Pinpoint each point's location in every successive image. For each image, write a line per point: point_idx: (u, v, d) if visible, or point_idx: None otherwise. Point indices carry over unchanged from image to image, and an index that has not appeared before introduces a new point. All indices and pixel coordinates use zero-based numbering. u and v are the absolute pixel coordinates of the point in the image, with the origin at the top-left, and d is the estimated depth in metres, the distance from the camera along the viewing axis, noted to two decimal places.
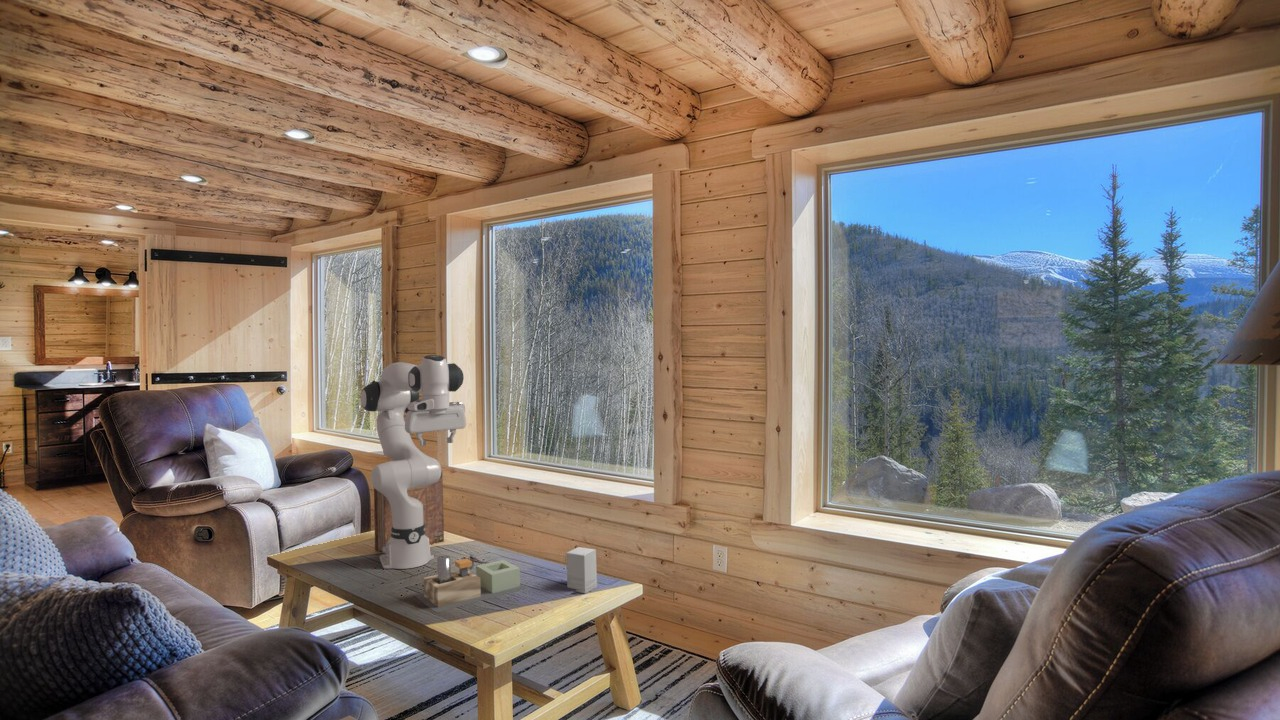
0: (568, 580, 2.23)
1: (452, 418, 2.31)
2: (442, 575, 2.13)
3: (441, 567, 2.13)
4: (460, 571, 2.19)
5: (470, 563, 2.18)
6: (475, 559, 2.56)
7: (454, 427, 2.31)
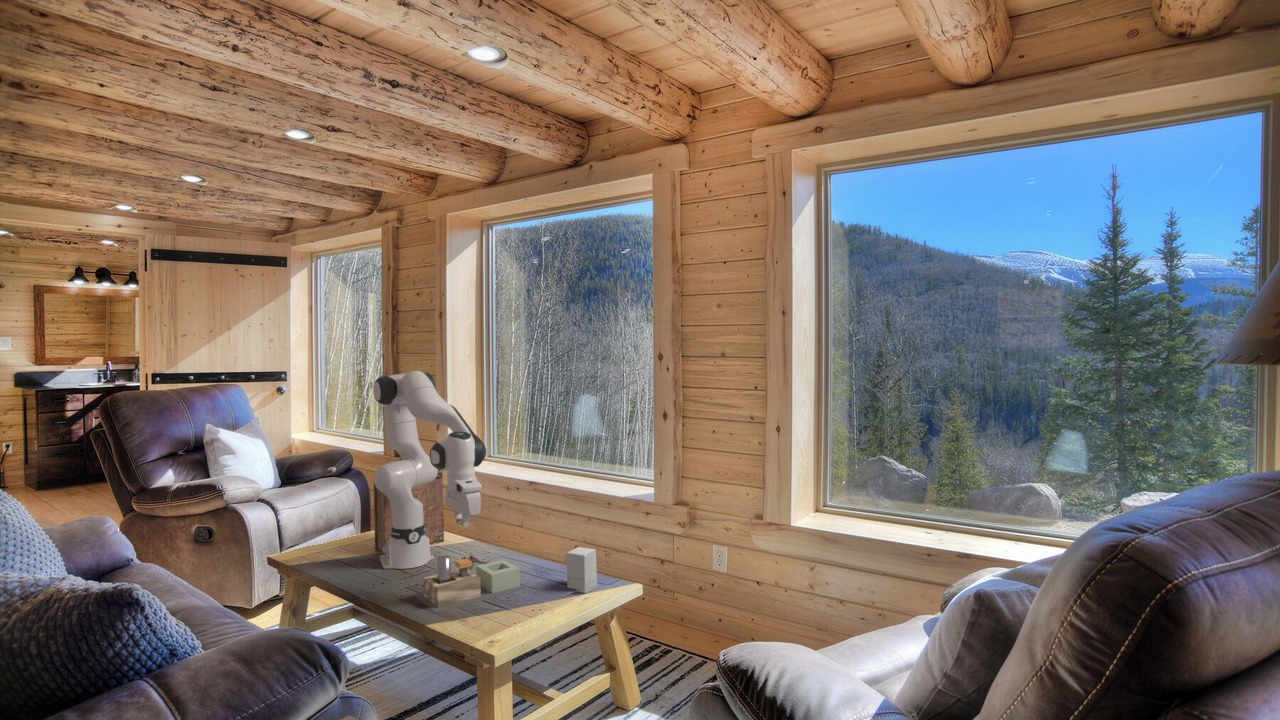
0: (568, 580, 2.23)
1: None
2: (442, 575, 2.13)
3: (441, 567, 2.13)
4: (460, 571, 2.19)
5: (470, 563, 2.18)
6: (475, 559, 2.56)
7: None
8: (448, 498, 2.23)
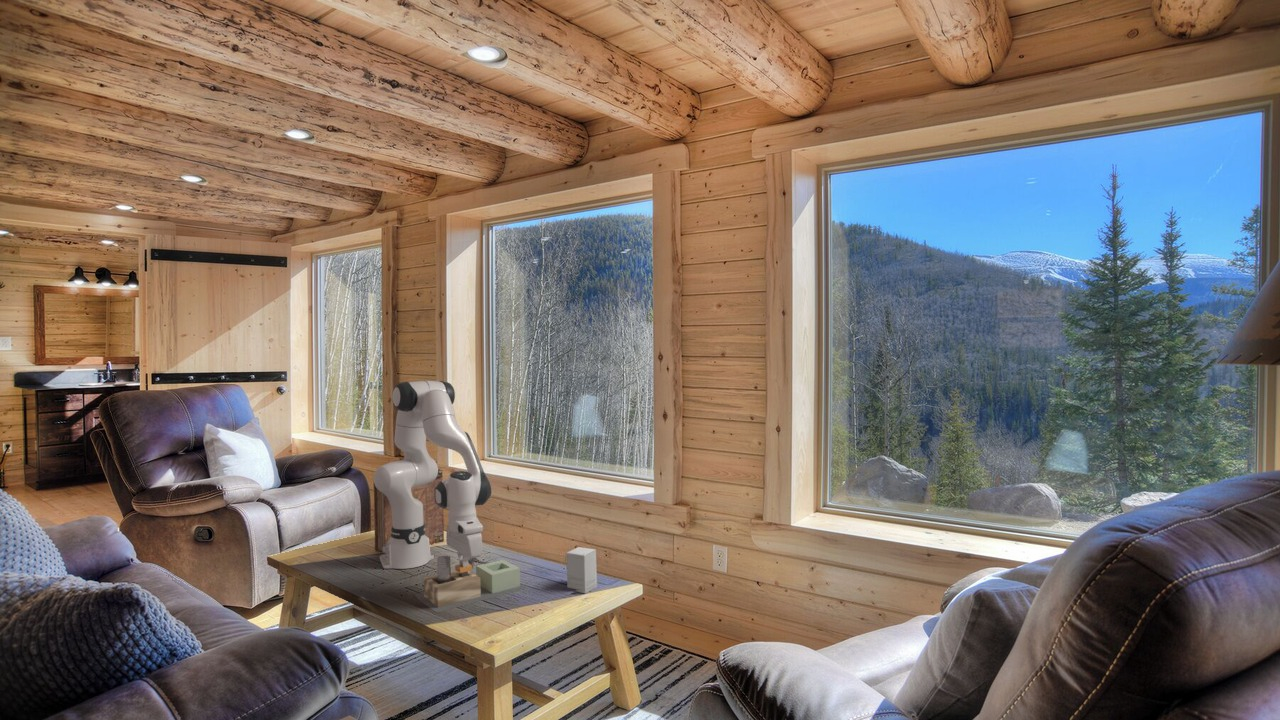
0: (568, 580, 2.23)
1: None
2: (442, 575, 2.13)
3: (441, 567, 2.13)
4: (460, 575, 2.19)
5: (470, 567, 2.18)
6: (475, 559, 2.56)
7: None
8: (449, 537, 2.23)
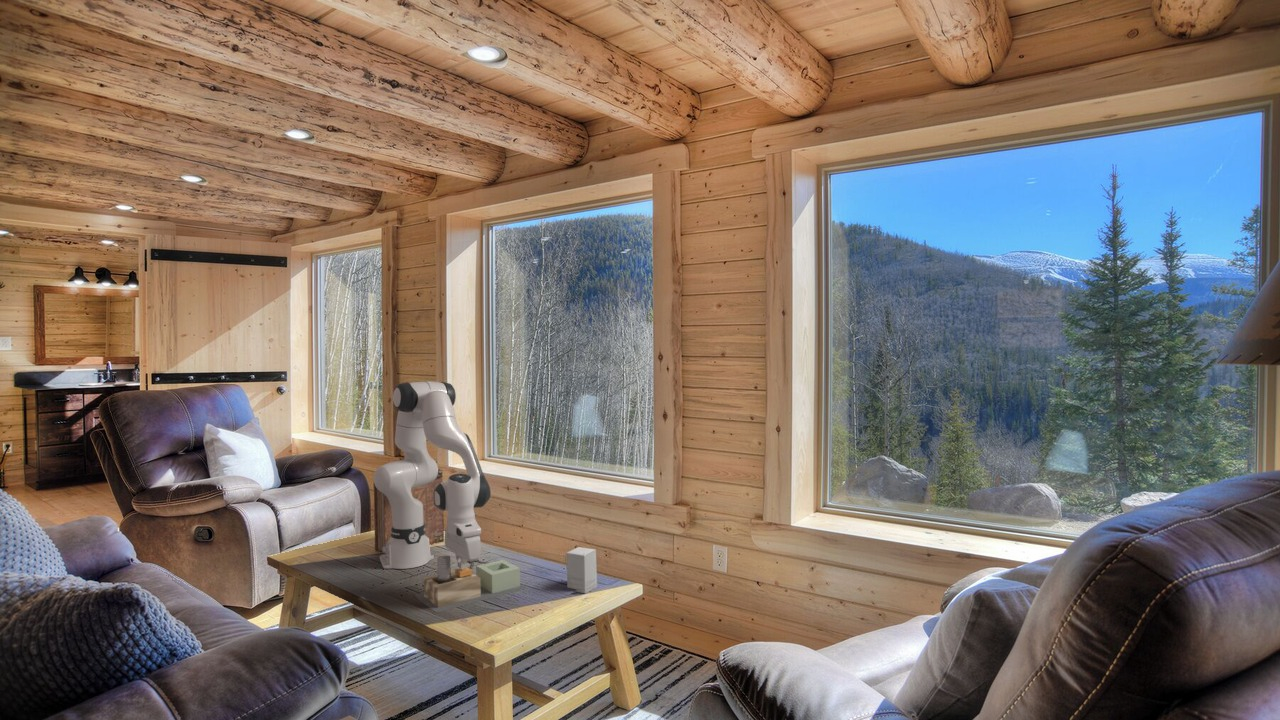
0: (568, 580, 2.23)
1: None
2: (442, 575, 2.13)
3: (441, 567, 2.13)
4: None
5: (470, 571, 2.18)
6: None
7: None
8: (448, 539, 2.23)
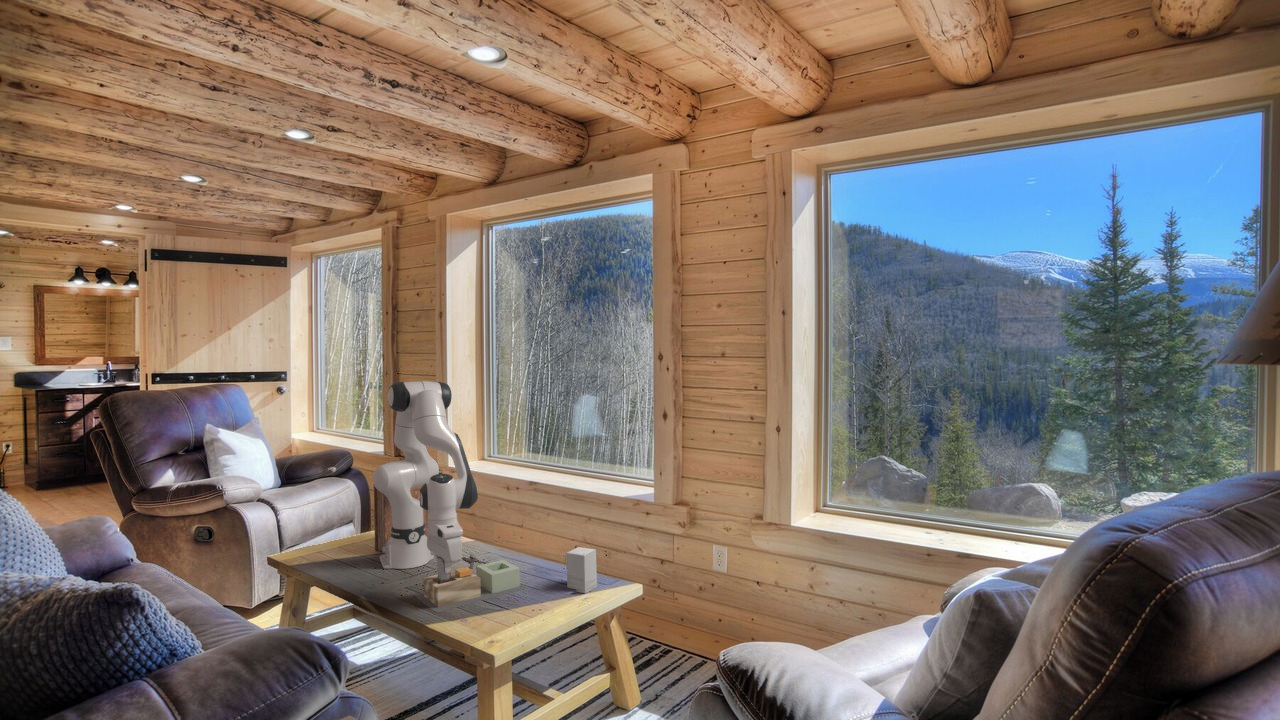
0: (568, 580, 2.23)
1: None
2: (442, 575, 2.13)
3: (441, 567, 2.13)
4: None
5: (470, 571, 2.18)
6: (475, 559, 2.56)
7: None
8: (430, 541, 2.19)
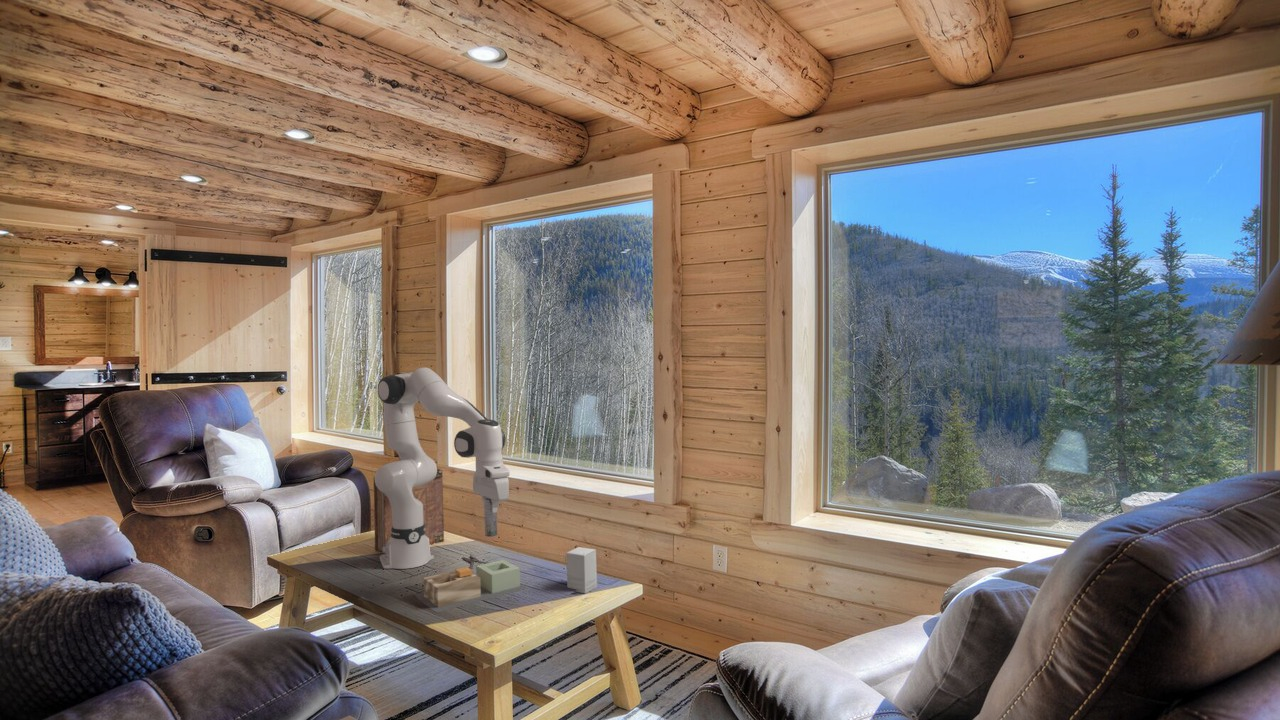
0: (568, 580, 2.23)
1: None
2: (489, 515, 2.23)
3: (488, 507, 2.22)
4: None
5: (470, 571, 2.18)
6: (475, 559, 2.56)
7: None
8: (476, 484, 2.29)
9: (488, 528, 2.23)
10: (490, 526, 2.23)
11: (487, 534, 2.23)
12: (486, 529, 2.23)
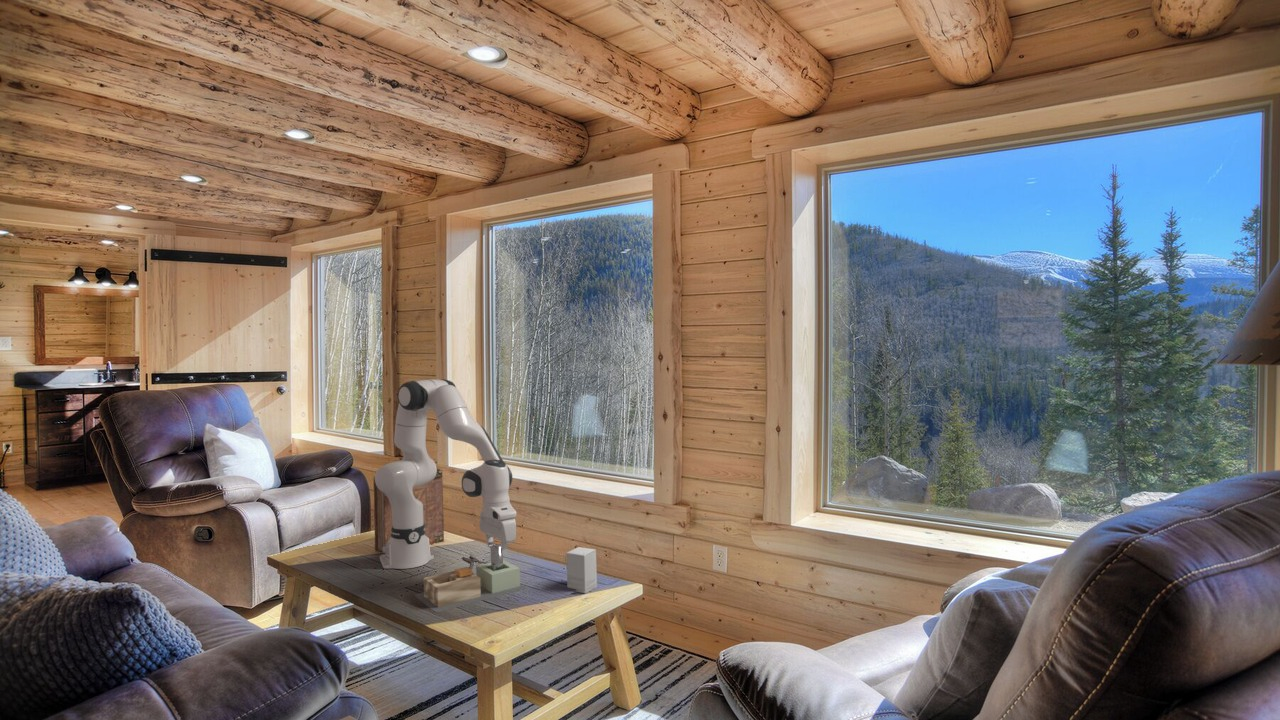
0: (568, 580, 2.23)
1: None
2: (495, 562, 2.25)
3: (494, 555, 2.24)
4: None
5: (470, 571, 2.18)
6: (475, 559, 2.56)
7: None
8: (483, 523, 2.30)
9: None
10: None
11: None
12: None
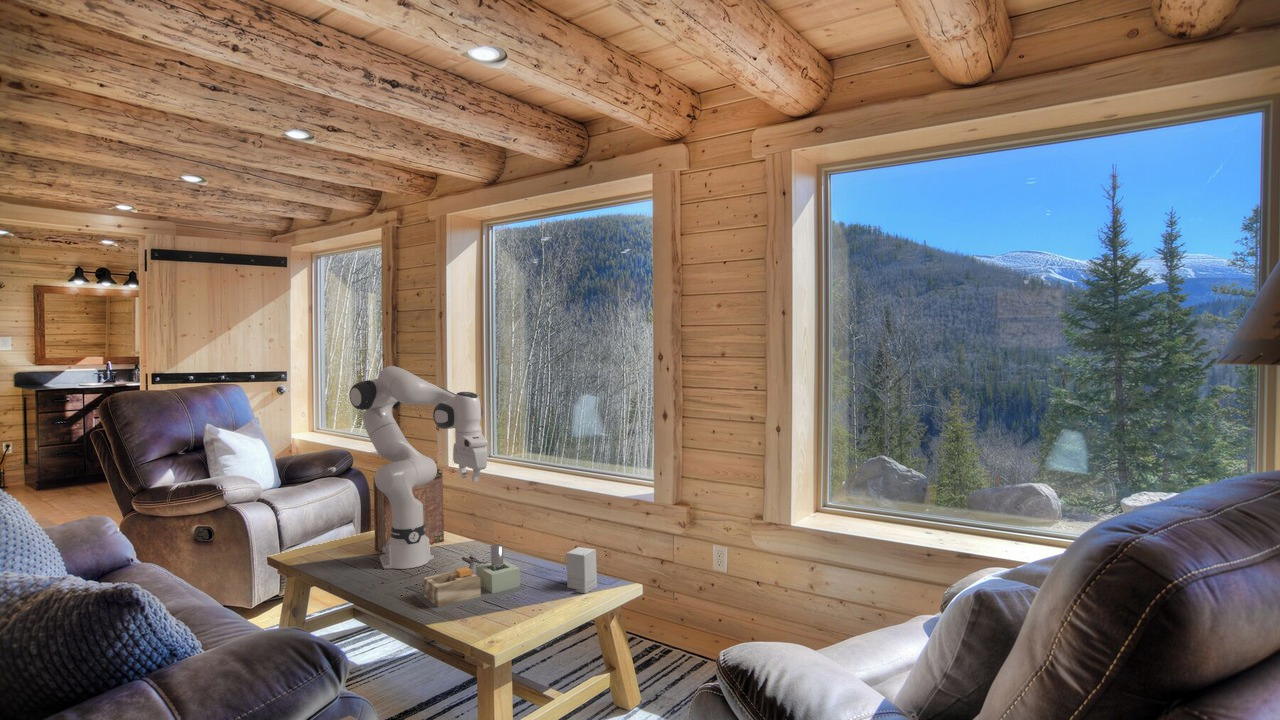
0: (568, 580, 2.23)
1: None
2: (495, 562, 2.25)
3: (495, 555, 2.25)
4: None
5: (470, 571, 2.18)
6: (474, 559, 2.56)
7: None
8: (456, 454, 2.37)
9: None
10: None
11: None
12: None
